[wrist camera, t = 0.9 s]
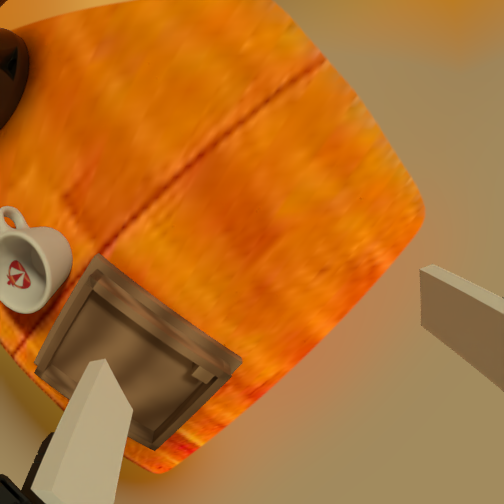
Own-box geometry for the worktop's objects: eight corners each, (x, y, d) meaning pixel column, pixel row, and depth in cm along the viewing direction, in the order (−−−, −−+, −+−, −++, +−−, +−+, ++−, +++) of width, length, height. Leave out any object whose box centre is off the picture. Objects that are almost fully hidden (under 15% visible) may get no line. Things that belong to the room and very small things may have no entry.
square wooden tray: (37, 358, 34) (25, 372, 30) (98, 253, 32) (86, 261, 29) (159, 439, 38) (157, 457, 35) (241, 357, 37) (244, 374, 33)
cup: (3, 222, 30) (-37, 234, 22) (47, 184, 30) (8, 187, 22) (47, 299, 32) (15, 327, 25) (94, 267, 32) (65, 291, 25)
